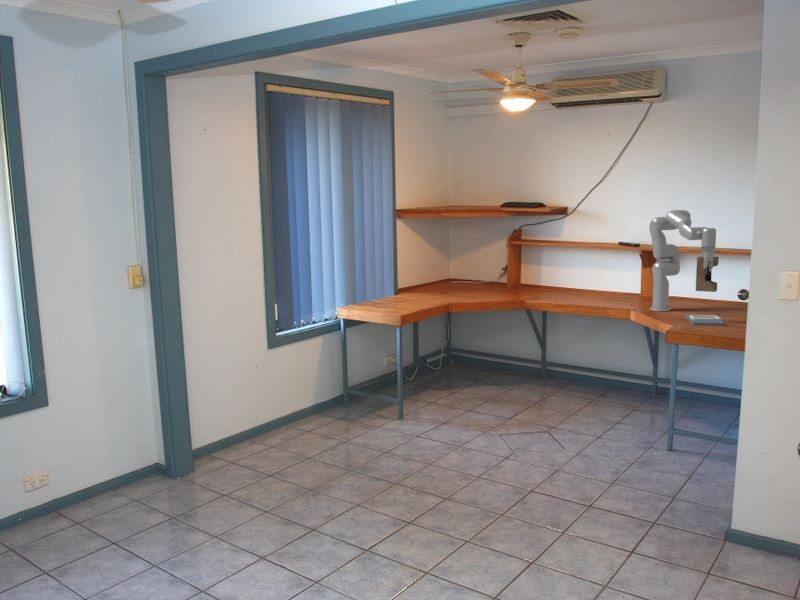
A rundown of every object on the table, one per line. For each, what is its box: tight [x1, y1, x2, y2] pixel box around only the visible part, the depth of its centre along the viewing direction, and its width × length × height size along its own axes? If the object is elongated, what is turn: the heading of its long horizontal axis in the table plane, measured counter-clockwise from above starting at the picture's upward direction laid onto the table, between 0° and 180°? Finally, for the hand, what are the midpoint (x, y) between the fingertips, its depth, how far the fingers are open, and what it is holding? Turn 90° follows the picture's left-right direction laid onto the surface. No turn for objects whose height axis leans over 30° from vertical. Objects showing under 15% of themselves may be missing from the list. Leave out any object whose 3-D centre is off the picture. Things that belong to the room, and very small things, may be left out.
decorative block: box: [695, 255, 719, 293], centre depth 397 cm, size 11×6×20 cm, turn 57°
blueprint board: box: [684, 314, 726, 326], centre depth 401 cm, size 24×17×2 cm
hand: (706, 279), depth 398 cm, fingers closed on decorative block, 6 cm apart
